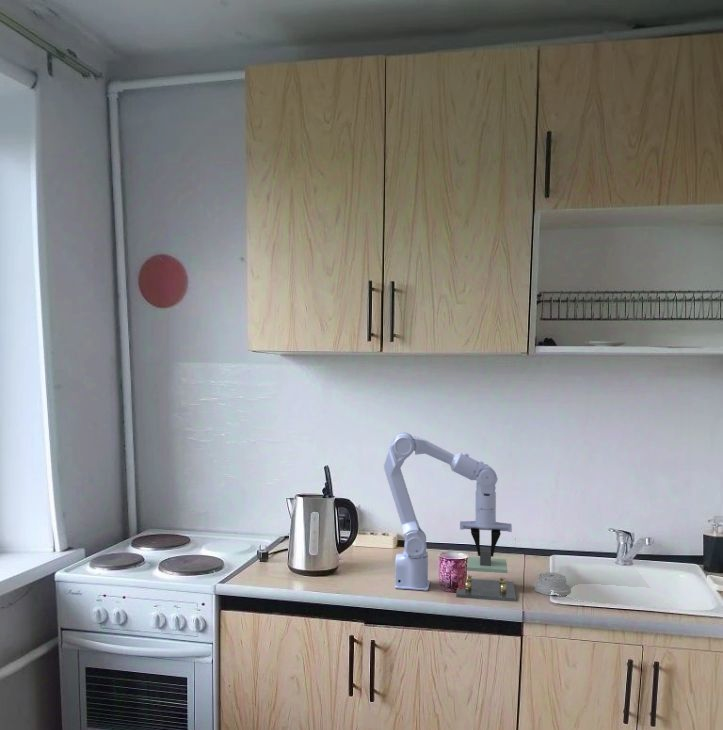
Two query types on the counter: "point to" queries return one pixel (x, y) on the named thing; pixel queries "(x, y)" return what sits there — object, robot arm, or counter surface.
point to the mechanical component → (552, 584)
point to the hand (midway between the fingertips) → (485, 555)
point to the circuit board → (493, 568)
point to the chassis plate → (488, 589)
